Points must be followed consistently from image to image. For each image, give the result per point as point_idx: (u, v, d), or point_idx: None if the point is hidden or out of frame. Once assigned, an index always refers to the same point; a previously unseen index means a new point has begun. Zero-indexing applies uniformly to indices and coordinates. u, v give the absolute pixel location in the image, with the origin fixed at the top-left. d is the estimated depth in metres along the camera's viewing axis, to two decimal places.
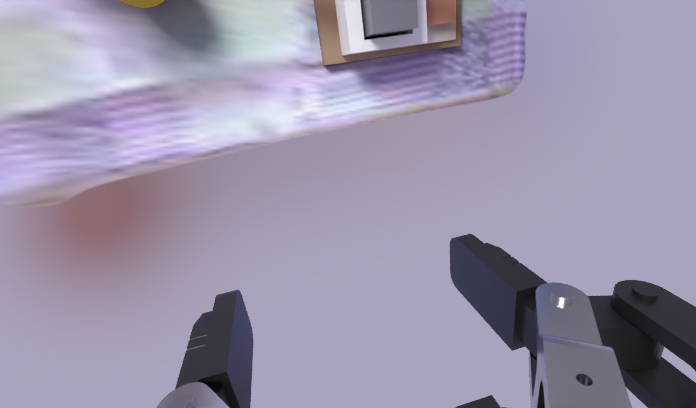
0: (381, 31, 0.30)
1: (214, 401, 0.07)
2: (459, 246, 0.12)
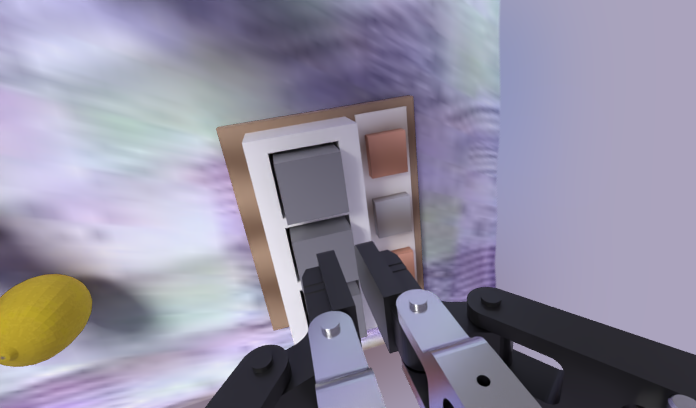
0: None
1: (352, 335, 0.08)
2: (358, 252, 0.13)
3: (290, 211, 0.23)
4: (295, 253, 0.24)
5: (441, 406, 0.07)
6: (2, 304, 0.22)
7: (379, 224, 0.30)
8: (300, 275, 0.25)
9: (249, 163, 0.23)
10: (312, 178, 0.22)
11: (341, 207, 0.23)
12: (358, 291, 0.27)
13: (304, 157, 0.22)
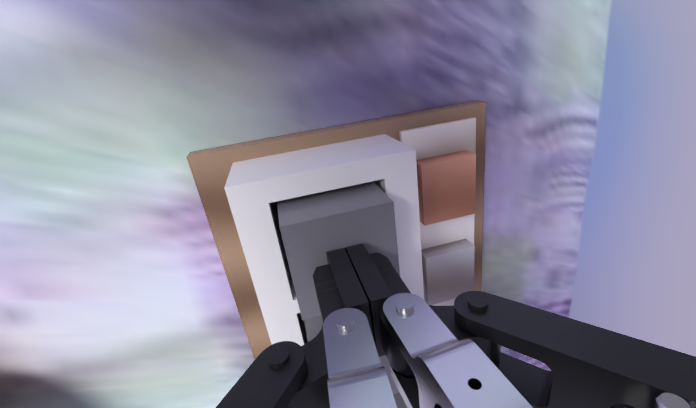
0: None
1: (366, 333, 0.08)
2: (348, 255, 0.13)
3: (307, 298, 0.14)
4: None
5: None
6: None
7: (429, 287, 0.21)
8: None
9: (238, 220, 0.14)
10: (345, 246, 0.13)
11: None
12: None
13: (332, 212, 0.13)
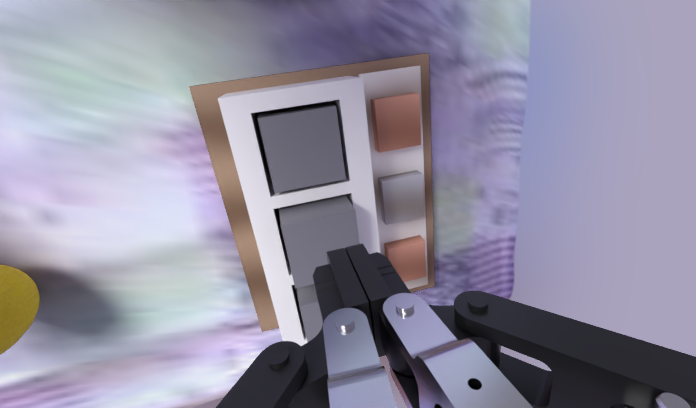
0: None
1: (366, 333, 0.08)
2: (348, 255, 0.13)
3: (277, 176, 0.20)
4: (285, 239, 0.19)
5: None
6: None
7: (386, 208, 0.26)
8: (291, 266, 0.20)
9: (227, 125, 0.18)
10: (303, 137, 0.19)
11: (336, 174, 0.20)
12: None
13: (293, 112, 0.19)
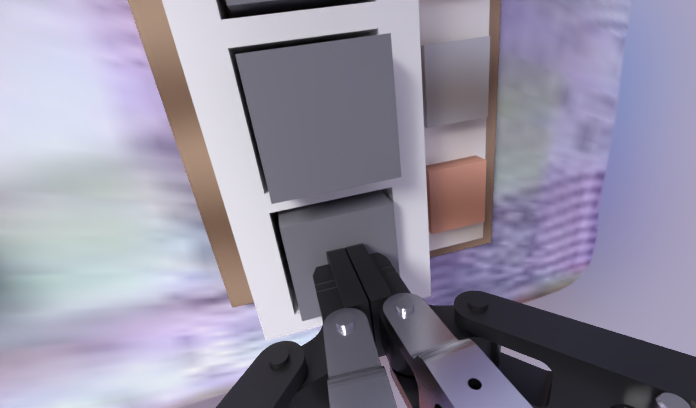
0: (320, 314, 0.14)
1: (366, 332, 0.08)
2: (348, 255, 0.13)
3: None
4: (246, 88, 0.09)
5: None
6: None
7: (429, 96, 0.15)
8: (262, 154, 0.10)
9: None
10: None
11: None
12: (386, 200, 0.13)
13: None
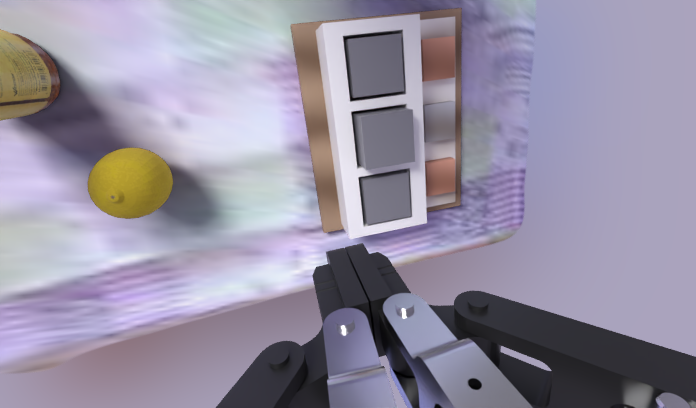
0: (375, 222, 0.32)
1: (366, 332, 0.08)
2: (348, 255, 0.13)
3: (357, 84, 0.27)
4: (363, 127, 0.27)
5: None
6: (108, 157, 0.25)
7: (426, 128, 0.33)
8: (365, 151, 0.28)
9: (326, 43, 0.26)
10: (377, 55, 0.27)
11: (397, 86, 0.28)
12: (405, 171, 0.31)
13: None
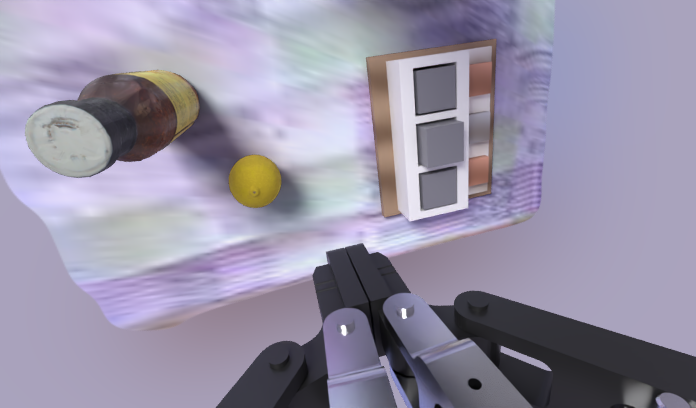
0: (429, 207, 0.41)
1: (366, 333, 0.08)
2: (348, 255, 0.13)
3: (421, 104, 0.36)
4: (427, 137, 0.36)
5: None
6: (245, 163, 0.34)
7: None
8: (428, 154, 0.37)
9: (401, 74, 0.35)
10: (437, 82, 0.36)
11: (451, 104, 0.37)
12: (453, 168, 0.40)
13: (433, 68, 0.35)
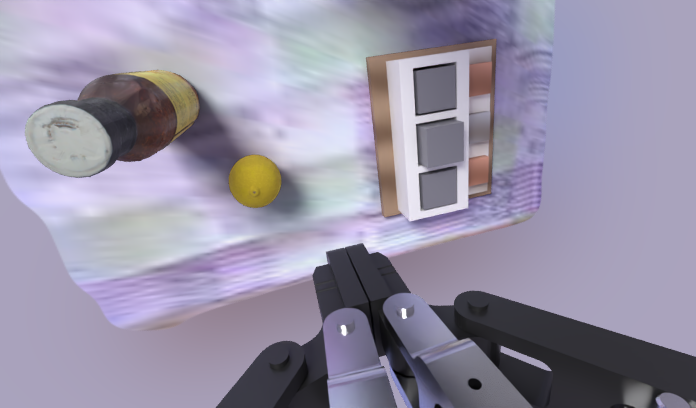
0: (429, 207, 0.41)
1: (366, 332, 0.08)
2: (348, 255, 0.13)
3: (421, 104, 0.36)
4: (427, 137, 0.36)
5: None
6: (245, 163, 0.34)
7: None
8: (428, 154, 0.37)
9: (401, 74, 0.35)
10: (437, 82, 0.36)
11: (451, 104, 0.37)
12: (453, 168, 0.40)
13: (433, 68, 0.35)
